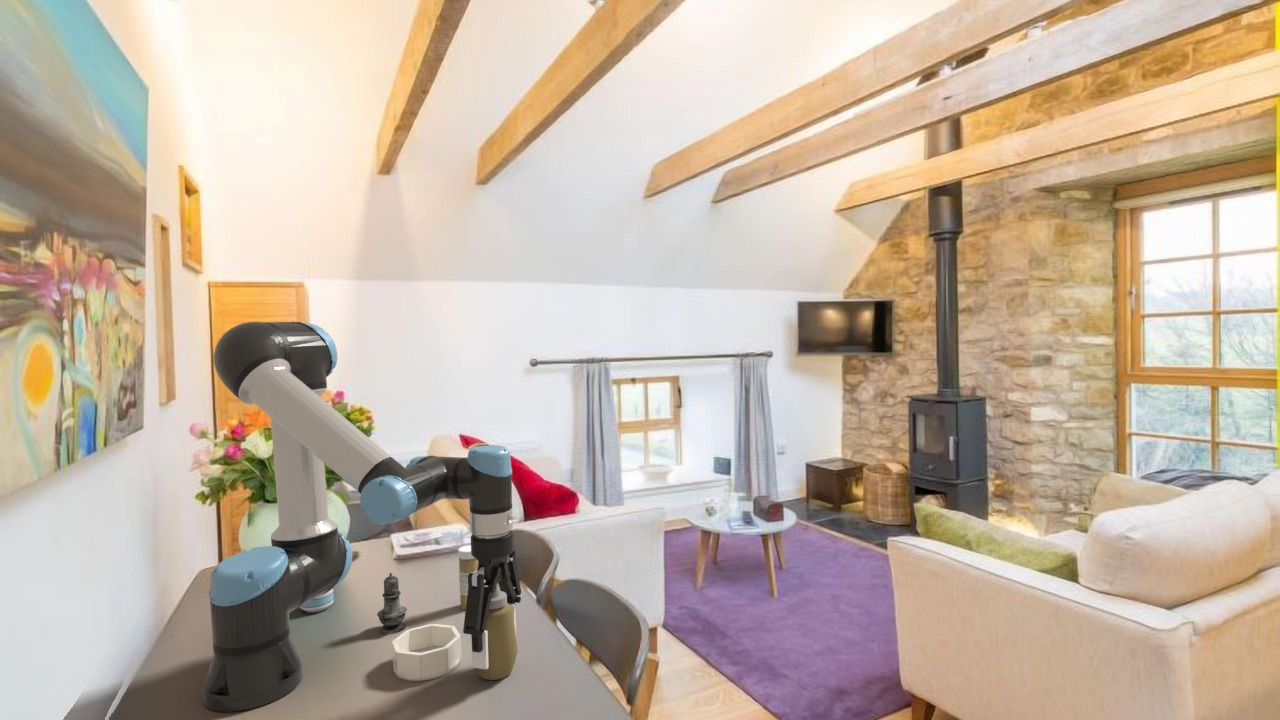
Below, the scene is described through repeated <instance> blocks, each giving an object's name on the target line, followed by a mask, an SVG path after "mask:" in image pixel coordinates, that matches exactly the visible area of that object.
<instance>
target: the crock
mask: <svg viewBox="0 0 1280 720" xmlns="http://www.w3.org/2000/svg"><path fill="white" fill-rule="evenodd" d="M391 651H392V652H391V653H392V654H391V655H392V657H391V658H392V666H393V668H392V670H393V673H394V675H395V676H396V677H398V679H401V680H404V681H411V682H422V681H427V680H429V681H430V680H433V679H437V678H440V677H442V676H445V675H447V674H449V673H451V672H452V671H453V670H455V669H456V668H457V667H458V666H459V664H460V663H461V659H462V655H463V654H462V636H461V634H460V632H459V631H458V629H457V627H456V626H454V625H448V624H438V623H430V624H426V625H422V626H417V627H414V628H410V629H407V630H405V631H404V632H402V633H401V634H400V635H398V636H397V637H396V638H394V639H393V640H392V641H391Z"/></svg>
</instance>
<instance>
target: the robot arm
mask: <svg viewBox="0 0 1280 720" xmlns="http://www.w3.org/2000/svg"><path fill="white" fill-rule="evenodd" d="M337 350H338V349H337V347H336V344H335V342H334V340H333V338H332V336H331V335H330V334H329V333H328V332H327V331H326V330H325V329H324V328H322V327H321V326H319V325H317V324H314V323H310V322H309V323H308V322H302V321H294V320H293V321H269V322H268V321H265V322H264V321H249V322H248V321H247V322H243V323H240V324H238V325H235V326H233V327H231V328H230V329H228V330H227V331H225V332H224V333H223V335H222V336H221V337H220V339H218V341H217V344H216V346H215V349H214V353H213V363H214V369H215V371H216V375H217V377H218V378H219V379H220V380H221V382H222V384H223V385H224V386H225V388H227V389H228V391H230V393H232V395H234V396H235V397H236V398H237V399H239V400H240V401H241V402H242V403H243V404H246V405H256V406H257V407H258V408H259V409H260V410H262V411H263V412H264V413H265V414H267V416H268V417H270V423H271V424H270V425H271V437H272V438H271V439H272V452H273V453H272V454H273V464H274V476H275V488H276V489H275V490H276V500H277V504H276V505H277V513H278V514H277V515H278V516H277V517H278V526H277V527H276V529H274V530H273V532H272V533H271V535H270V542H271V543H270V544H271V545H270V546H267V545H266V546H265V545H264V546H258V547H254V548H250V549H249V550H242V551H239V552H237V553H235V554H232V555H231V556H228V557H226V558H225V559H223V560H221V561H220V562H219V563H218V564H217V565H216V566H215V567H214V568H213V570H212V572H211V574H210V582H209V583H210V587H209V591H208V598H209V600H210V614H211V615H210V617H211V629H212V630H211V633H212V647H213V649H212V652H213V653H212V658H211V661H210V665H209V667H208V670H207V673H206V677H205V680H204V683H203V687H202V698H203V701H202V702H203V705H204V706H205V707H206V708H207V709H209V710H210V711H211V710H212V711H214V712H215V711H216V712H224V713H225V712H226V713H231V712H239V711H241V712H242V711H245V710H251V709H255V708H258V707H262V706H264V705H267V704H271V703H273V702H275V701H277V700H279V699H281V698H283V697H285V696H286V695H287V694H289V693H291V692H292V691H294V690H295V689H296V688H297V687H298V686H299V685H300V683H301V682H302V680H303V677H304V674H303V672H304V670H303V661H302V660H301V657H300V655H299V652H298V651H297V649H296V647H295V644H294V641H293V639H292V637H291V628H290V613H291V612H293V611H294V610H297V609H298V608H299V609H300V606H302V605H304V604H306V603H307V602H309V601H311V600H313V599H315V598H316V597H318V596H320V595H322V594H325V593H327V592H329V591H330V590H331V589H333V590H334V588H335V587H336V586H338V585H339V584H341V582H343V581H344V579H345V578H346V577H347V576H348V574H349V572H350V569H351V567H352V562H353V549H352V545H351V543H350V541H349V540H348V539H346V536H345V534H344V533H343V532H341V531H340V530H338V528H339V527H338V523H337V522H335V521H334V520H333V519H331V518H330V517H329V509H328V497H327V495H328V494H327V485H326V472H325V471H326V469H325V465H326V466H327V467H328V468H330V469H331V470H332V471H333V472H334V473H336V474H337V475H338V477H340V478H341V479H342V480H344V481H345V482H346V483H347V484H349V485H350V486H351V487H352V488H353V489H354V490H355V491H357V493H359V494H360V496H359V503H360V504H359V505H360V508H361V509H362V511H363V514H364V517H365V518H366V519H368V520H369V521H371V522H372V523H374V524H378V525H389V524H392V523H393V524H394V523H395V522H399V521H402V520H405V519H407V518H408V517H410V516H411V515H412V514H414V513H416V512H418V511H420V510H422V509H425V508H427V507H429V506H431V505H434V504H435V503H437V502H439V501H441V500H445V499H446V500H448V499H449V500H450V499H451V500H468V501H469V524H470V525H469V526H470V527H469V528H470V529H469V531H470V533H471V534H472V535H471V536H470V545H471V554H472V556H473V557H475V558H476V559H477V560H478V568H477V572H476V573H475V574H474V573H469V575H468V595H467V603H466V609H465V613H464V620H463V629H462V631H463V632H462V633H463V634H465V635H471V663H472V664H471V667H472V668H474V669H477V668H480V669H487V668H488V667H489V664H488V631H486V630H485V626H486V621H487V616H488V612H489V607H490V602H491V598H492V594H493V593H494V592H495V591H496V586H497V583H499V587H500V591H503V592H505V593H506V594H507V603H508V604H509V605H511V606H512V610H513V618H514V626H515V633H516V634H517V611H516V610H517V607H516V604H517V603H518V604H520V602H521V601H522V597H521V595H522V588H521V584H520V583H521V582H520V578H519V572H518V566H517V563H516V550H515V549H514V546H515V545H514V532H513V531H512V529H513V528H514V526H513V525H514V523H513V521H514V519H515V515H513V494H512V493H513V491H512V489H513V488H512V487H513V486H512V485H513V484H512V483H513V481H512V477H513V468H512V460H511V452H510V450H509V448H507V447H505V445H504V446H503V445H498V444H497V445H493V444H492V445H480V446H474V447H472V448H470V449H469V450H468V453H467V457H457V456H436V455H427V456H415V457H413V458H411V459H410V461H409V463H408V464H406V466H404V465H403V464H401V463H400V462H398V461H397V460H396V459H395V458H393V457H392V456H391V455H390V454H389V453H387V452H386V451H385V450H384V449H382V448H381V447H380V446H379V445H378V444H377V443H376V442H375V441H373V440H372V439H371V438H370V437H368V436H367V435H366V434H364V433H363V432H362V431H361V430H360V429H359V428H358V427H357V426H356V425H354V424H353V423H352V422H351V421H349V420H348V419H347V418H346V417H345V416H344V415H342V414H341V412H339V411H337V410H336V409H335V408H334V407H333V406H331V405H330V404H329V403H328V402H327V401H325V400H324V399H323V398H322V397H321V396H322V395H323V394H324V393H325V392H326V391H327V390H328V383H327V377H329V376H330V375H331V374H332V373H333V371H334V369H335V368H336V366H337V363H338V351H337ZM488 586H490V587H488Z"/></svg>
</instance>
